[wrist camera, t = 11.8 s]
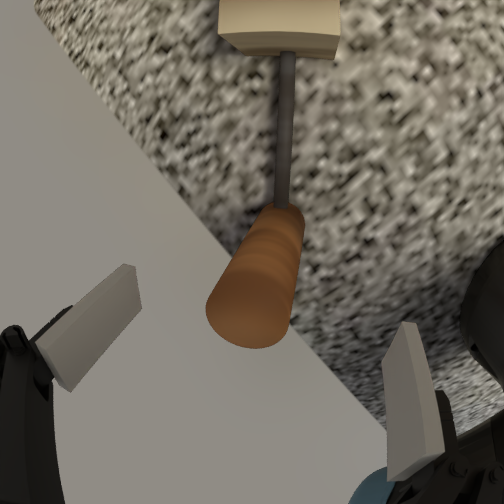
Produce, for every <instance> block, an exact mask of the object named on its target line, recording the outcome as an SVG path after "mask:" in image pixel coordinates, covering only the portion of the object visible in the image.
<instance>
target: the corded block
mask: <svg viewBox="0 0 504 504" xmlns="http://www.w3.org/2000/svg"><path fill="white" fill-rule="evenodd" d="M218 35H220V36H221V37H222V38H224V39H225V40H226V41H228V42H229V43H230V44H232V45H233V46H234V47H236V48H237V49H238V50H239V51H241V52H242V53H243V54H245V55H246V56H280V71H279V100H278V125H277V147H276V168H275V187H274V202H272V203H270V204H268V205H267V206H265V207H264V208H263V209H262V210H261V212H260V214H259V215H258V217H257V219H256V220H255V222H254V223H253V225H252V227H251V228H250V230H249V232H248V233H247V235H246V236H245V238H244V240H243V241H242V243H241V245H240V246H239V248H238V250H237V251H236V253H235V255H234V256H233V258H232V259H231V261H230V263H229V265H228V266H227V268H226V269H225V271H224V273H223V274H222V276H221V278H220V280H219V281H218V283H217V284H216V286H215V288H214V289H213V291H212V293H211V294H210V296H209V298H208V300H207V303H206V316H207V318H208V321H209V323H210V325H211V326H212V328H213V329H214V330H215V332H216V333H217V334H219V335H220V336H221V337H222V338H224V339H225V340H227V341H228V342H230V343H233V344H235V345H237V346H241V347H245V348H253V349H257V348H265V347H269V346H272V345H274V344H276V343H277V342H278V341H280V340H281V339H282V338H283V337H284V336H285V334H286V332H287V330H288V326H289V321H290V316H291V310H292V304H293V299H294V293H295V287H296V281H297V275H298V269H299V263H300V257H301V250H302V243H303V237H304V230H305V220H304V217H303V215H302V213H301V211H300V210H299V209H298V208H297V207H296V206H294V205H293V204H291V203H288V198H289V184H290V170H291V153H292V136H293V116H294V93H295V63H296V57H309V58H320V59H330V60H334V58H335V54H336V51H337V47H338V43H339V39H340V0H220V3H219V20H218Z"/></svg>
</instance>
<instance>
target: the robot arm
mask: <svg viewBox="0 0 504 504" xmlns="http://www.w3.org/2000/svg"><path fill="white" fill-rule="evenodd" d="M141 309H142V306H141V301H140V295H139V289H138V283H137V276H136V269H135V267H134V266H131V265H127V264H123V265H121V266H120V267H119V268H118V269H116V270H115V271H114V272H113V273H112V274H111V275H109V276H108V277H107V278H106V279H104V280H103V281H102V282H101V283H100V284H99V285H97V286H96V287H95V288H94V289H93V290H92V291H90V292H89V293H88V294H87V295H86V296H85V297H83V298H82V299H81V300H80V301H79V302H78V303H77V304H76V305H74V306H73V305H71V306H69V307H67V308H65V309H63V310H62V311H61V312H59V313H58V314H57V315H56V316H55V318H53V319H52V320H51V321H50V323H49V322H48V323H47V324H46V325H45V326H44V327H43V328H42V329H41V330H40V331H39V332H38V333H37V334H36V335H34V337H32V338H31V339H30V340H29V341H28V339H27V337H26V335H25V333H24V331H23V329H22V328H21V327H20V326H19V325H12V326H9V327H7V328H6V329H5V330H4V331H3V332H2V333H1V335H0V504H65V501H64V496H63V491H62V486H61V481H60V475H59V468H58V461H57V454H56V443H55V431H54V412H53V383H52V379H53V378H54V377H55V379H56V380H57V382H58V384H59V385H60V386H61V387H63V388H64V389H66V390H67V391H69V392H72V390H73V389H74V388H75V387H76V385H77V384H78V383H79V382H80V381H81V379H82V378H83V377H84V376H85V374H86V373H87V372H88V371H89V370H90V368H91V367H92V366H93V365H94V364H95V362H96V361H97V360H98V358H100V356H101V355H102V354H103V353H104V352H105V350H107V348H108V347H109V346H110V345H111V344H112V343H113V341H114V340H115V339H116V338H117V337H118V335H119V334H120V333H121V332H122V331H123V330H124V328H126V326H127V325H128V324H129V323H130V322H131V321H132V320H133V318H134V317H135V316H136V315H137V314H138V313H139V312H140V310H141ZM460 331H461V335H462V337H463V339H464V342H465V344H466V346H467V349H468V351H469V352H470V354H471V355H472V357H473V358H474V359H475V360H476V361H477V362H478V363H479V364H480V365H481V366H482V367H483V368H484V369H485V370H486V371H487V372H488V373H489V374H490V375H491V376H492V377H493V378H494V379H495V380H496V381H497V382H498V383H499V384H500V385H501V387H502V389H503V392H504V241H503V242H502V243H500V244H499V245H498V246H497V247H496V248H495V249H494V250H493V252H492V253H491V254H490V255H489V256H488V257H487V259H486V260H485V261H484V263H483V264H482V265H481V267H480V268H479V270H478V272H477V273H476V275H475V277H474V278H473V280H472V282H471V284H470V286H469V288H468V290H467V293H466V295H465V298H464V301H463V304H462V308H461V313H460ZM381 364H382V373H383V383H384V394H385V407H386V425H387V467H384V468H382V469H379V470H377V471H375V472H373V473H372V474H370V475H369V476H368V477H367V478H366V479H365V480H364V481H363V482H362V483H361V484H360V485H359V486H358V488H357V489H356V491H355V492H354V494H353V496H352V497H351V499H350V501H349V503H348V504H504V409H503V410H502V411H500V412H499V413H497V414H495V415H494V416H492V417H490V418H489V419H487V420H485V421H484V422H482V423H480V424H479V425H477V426H475V427H473V428H472V429H470V430H468V431H466V432H464V433H462V434H461V435H459V436H456V430H455V425H454V421H453V415H452V413H451V411H452V410H451V406H450V401H449V399H448V397H447V396H446V394H445V393H444V391H443V390H434V386H433V382H432V378H431V374H430V370H429V366H428V362H427V358H426V355H425V351H424V348H423V344H422V341H421V337H420V334H419V331H418V328H417V325H416V323H411V322H404V321H402V322H401V325H400V327H399V329H398V331H397V333H396V335H395V337H394V339H393V341H392V343H391V345H390V347H389V349H388V350H387V352H386V354H385V356H384V358H383V360H382V361H381Z"/></svg>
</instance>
